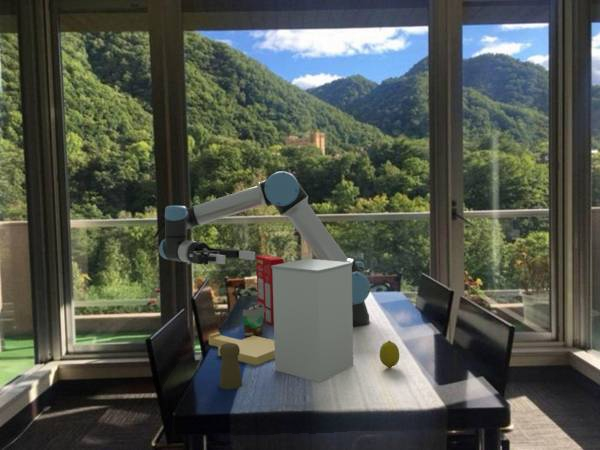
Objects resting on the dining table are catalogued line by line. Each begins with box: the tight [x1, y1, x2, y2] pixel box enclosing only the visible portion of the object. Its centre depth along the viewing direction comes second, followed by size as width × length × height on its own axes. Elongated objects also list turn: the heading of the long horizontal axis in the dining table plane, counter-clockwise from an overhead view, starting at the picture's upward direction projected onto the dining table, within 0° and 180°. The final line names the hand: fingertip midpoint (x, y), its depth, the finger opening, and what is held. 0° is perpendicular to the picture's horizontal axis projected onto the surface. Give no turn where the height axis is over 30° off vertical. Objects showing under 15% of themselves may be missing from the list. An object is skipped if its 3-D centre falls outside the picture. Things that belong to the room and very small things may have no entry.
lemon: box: [379, 340, 400, 369], centre depth 149 cm, size 6×6×8 cm
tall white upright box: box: [271, 258, 354, 383], centre depth 150 cm, size 16×16×30 cm
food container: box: [242, 302, 265, 338], centre depth 187 cm, size 12×6×10 cm, turn 168°
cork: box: [219, 343, 243, 390], centre depth 139 cm, size 6×6×11 cm
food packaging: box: [255, 254, 285, 327], centre depth 204 cm, size 15×5×25 cm, turn 26°
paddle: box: [208, 331, 275, 366], centre depth 169 cm, size 27×16×3 cm, turn 52°
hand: (239, 257), depth 167 cm, fingers open, 13 cm apart
